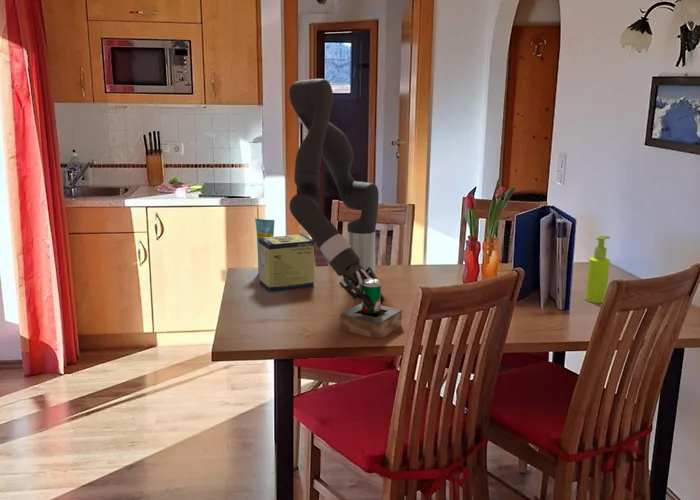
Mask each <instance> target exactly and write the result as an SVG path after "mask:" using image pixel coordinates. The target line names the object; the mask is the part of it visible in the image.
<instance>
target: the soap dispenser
mask: <svg viewBox="0 0 700 500" xmlns="http://www.w3.org/2000/svg"><path fill="white" fill-rule="evenodd" d="M610 238H611V236H606V235H599V236H598V237H596V240H597V241H598V242H597V246H595V247H594V253H593V256H591V257H589V259H588V267H587V268H588V269H587V280H586V289H585V299H584V300H585V301H587V302H589V303H593V304H602V303H601V302H602V300H603V298H604V295H605V292H606V289H607V290H608V281H609V280H608V279H609V271H610V270H609V269H610V262H611V260H610V258H606V256H607V250H608V249H607V247H606V246H605V240H607V239H610ZM606 293H607V292H606Z"/></svg>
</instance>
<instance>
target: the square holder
mask: <svg viewBox="0 0 700 500" xmlns="http://www.w3.org/2000/svg"><path fill="white" fill-rule="evenodd" d="M361 305H362V302H360V303H359V304H357V305H355V306H353V307H351V308H349V309H347V310H345V311H343V312H341V313H340V329H339V330H340V331H343V332H347V333H352V334H356V335H360V336H364V337H368V338H373V339H378V340H382V339H383V338H385V337H386V336H388V335H389V334H391V333H393V331H396V330H397V329H399V328H400V327H402V323H403V322H402V319H403V318H402V317H403V314H402V313H403V310H402V309H399V308H395V307H391V306H385V305H381V304H380V316H378V317H372V316H367V315H362V314H361ZM395 329H396V330H395Z"/></svg>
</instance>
